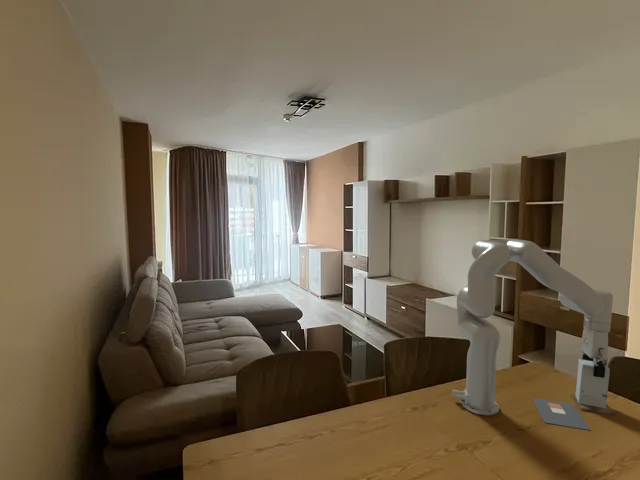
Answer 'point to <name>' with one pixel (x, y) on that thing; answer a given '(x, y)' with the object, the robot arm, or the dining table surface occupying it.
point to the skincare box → (591, 385)
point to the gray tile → (560, 414)
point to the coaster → (593, 407)
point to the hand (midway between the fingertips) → (592, 370)
